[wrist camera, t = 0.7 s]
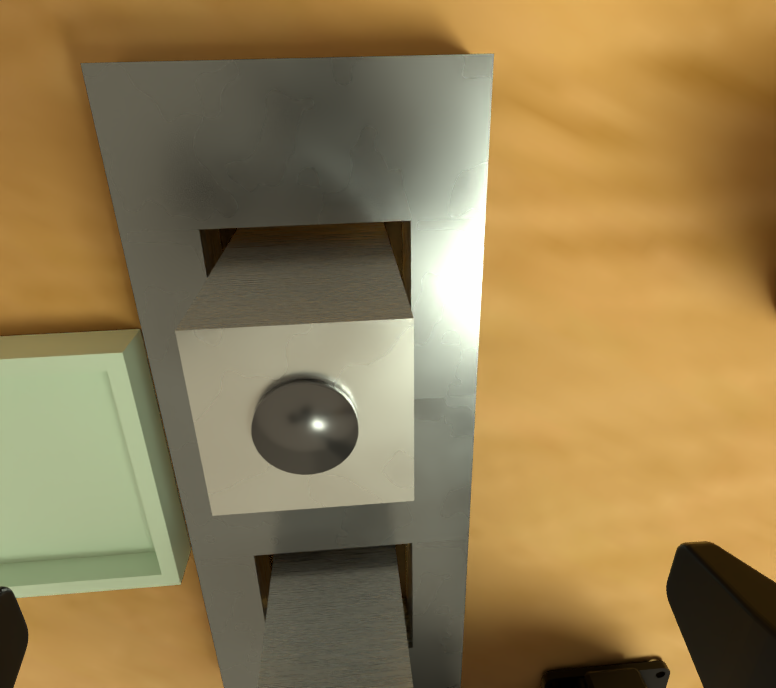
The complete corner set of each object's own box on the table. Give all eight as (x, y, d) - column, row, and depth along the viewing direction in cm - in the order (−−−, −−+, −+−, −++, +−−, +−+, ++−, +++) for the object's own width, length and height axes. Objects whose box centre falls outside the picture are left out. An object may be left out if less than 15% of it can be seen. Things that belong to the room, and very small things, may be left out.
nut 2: (392, 588, 26) (416, 801, 18) (289, 596, 25) (270, 817, 18) (390, 509, 24) (416, 712, 16) (278, 517, 23) (252, 728, 16)
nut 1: (386, 349, 20) (415, 509, 13) (256, 356, 20) (209, 525, 13) (383, 221, 18) (416, 324, 11) (238, 226, 18) (170, 337, 11)
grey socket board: (449, 653, 28) (459, 705, 26) (241, 672, 27) (233, 727, 25) (472, 55, 16) (493, 53, 14) (116, 64, 16) (80, 62, 14)
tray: (191, 549, 24) (180, 584, 22) (-62, 568, 23) (-93, 606, 21) (140, 328, 19) (122, 352, 18) (-175, 345, 19) (-223, 371, 17)
